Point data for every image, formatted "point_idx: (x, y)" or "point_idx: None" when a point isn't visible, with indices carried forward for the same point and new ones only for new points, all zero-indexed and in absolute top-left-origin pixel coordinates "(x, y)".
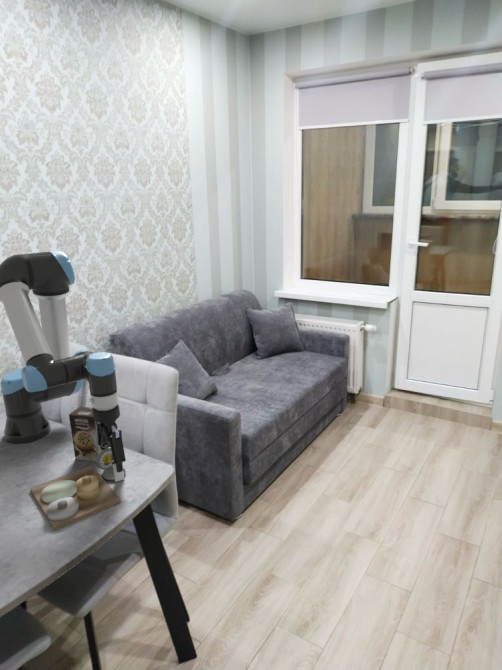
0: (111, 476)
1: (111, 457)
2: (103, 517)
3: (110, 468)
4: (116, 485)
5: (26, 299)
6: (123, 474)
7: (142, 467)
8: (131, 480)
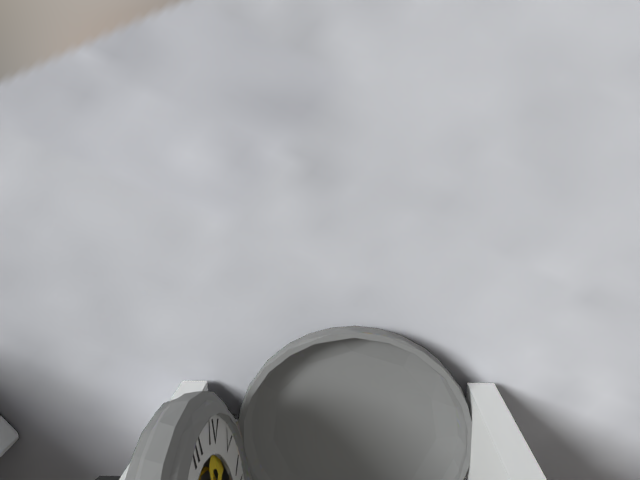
0: (362, 459)
1: None
2: None
3: (243, 434)
4: None
5: None
6: (508, 417)
7: (407, 130)
8: (557, 333)
